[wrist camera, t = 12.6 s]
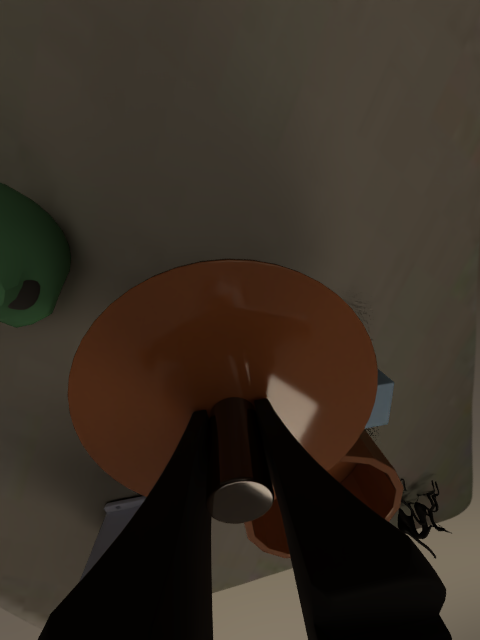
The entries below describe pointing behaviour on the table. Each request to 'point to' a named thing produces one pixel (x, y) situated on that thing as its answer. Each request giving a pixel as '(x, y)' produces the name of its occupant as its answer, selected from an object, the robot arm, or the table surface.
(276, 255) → the table surface
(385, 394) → the block
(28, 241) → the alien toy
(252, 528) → the pot
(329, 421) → the lid
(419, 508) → the creature
